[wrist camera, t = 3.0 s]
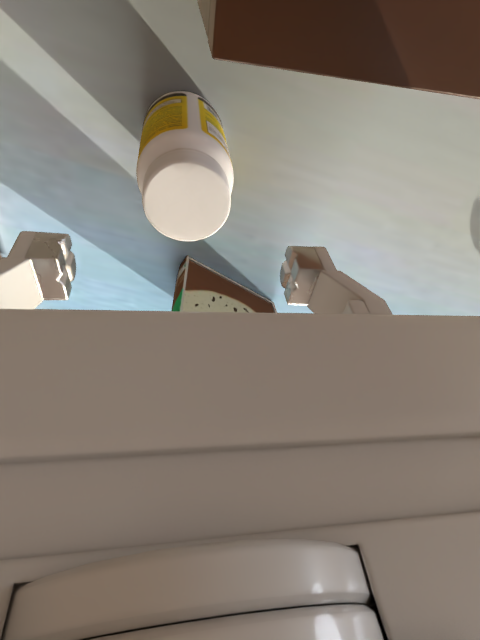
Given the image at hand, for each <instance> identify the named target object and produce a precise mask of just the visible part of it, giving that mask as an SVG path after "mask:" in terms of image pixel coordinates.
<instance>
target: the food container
mask: <svg viewBox="0 0 480 640" xmlns="http://www.w3.org/2000/svg"><path fill="white" fill-rule="evenodd" d="M172 311H181V312H245V313H277V311H276V309H275V306H274V303H273V302H272V301H270V300H269V299H267V298H265V297H263V296H261V295H259V294H257V293H256V292H254V291H252V290H250V289H248V288H246V287H244V286H243V285H241V284H239V283H237V282H235V281H233V280H232V279H230V278H228V277H226V276H224V275H222V274H220V273H219V272H217V271H215V270H213V269H211V268H209V267H208V266H206V265H204V264H202V263H200V262H198V261H196V260H195V259H193V258H191V257H189V256H186V258H185V259H184V261H183V262H182V264H181V265H180V268H179V272H178V276H177V280H176V286H175V292H174V299H173V305H172Z"/></svg>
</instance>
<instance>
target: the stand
mask: <svg viewBox="0 0 480 640" xmlns="http://www.w3.org/2000/svg"><path fill="white" fill-rule="evenodd" d="M197 2H198V5H199V9H200V13H201V16H202V20H203V23H204V27H205V30H206V34H207V38H208V44H209V47H210V51H211V55H212V58H213V59H216V60H223V61H229V62H236V63H242V64H249V65H256V66H262V67H269V68H276V69H282V70H289V71H296V72H302V73H309V74H316V75H322V76H329V77H335V78H342V79H349V80H355V81H362V82H369V83H375V84H382V85H389V86H395V87H402V88H409V89H415V90H422V91H428V92H435V93H442V94H448V95H455V96H462V97H468V98H475V99H480V0H197Z"/></svg>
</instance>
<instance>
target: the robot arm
mask: <svg viewBox="0 0 480 640" xmlns="http://www.w3.org/2000/svg"><path fill="white" fill-rule="evenodd" d="M71 246H72V242H71V238H70V236H69V235H68V234H60V233H47V232H32V231H22V232H20V234H19V236H18V237H17V239H16V241H15V243H14V245H13V247H12V249H11V251H10V253H9V255H8V257H7V258H5V257H2V258H0V640H480V316H434V315H393V314H392V312H391V311H390V309H389V307H388V305H387V304H386V302H385V300H383V299H382V298H380V297H379V296H377V295H376V294H374V293H373V292H371V291H370V290H368V289H367V288H365V287H364V286H362V285H361V284H359V283H358V282H356V281H355V280H353V279H352V278H350V277H349V276H347V275H346V274H344V273H343V272H341V271H337V270H336V268H335V266H334V264H333V262H332V260H331V258H330V256H329V254H328V252H327V250H326V248H325V247H303V246H288V247H287V249H286V252H285V257H286V261H285V262H284V263H282V266H281V271H280V281H281V285H282V287H284V288H285V292H284V295H285V298H286V301H287V304H288V305H307V307H308V308H309V309H310V310H311V311H312V312H314V313H315V314H310V313H245V312H181V311H117V310H54V309H34V308H36V307H37V306H38V305H39V304H40V303H41V302H43V300H68V298H69V295H70V292H71V288H72V287H71V283H70V282H71V281H73V280H74V278H75V274H76V262H75V256H74V254H73V253H72V252H71V251H70V249H71Z"/></svg>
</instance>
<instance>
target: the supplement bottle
mask: <svg viewBox="0 0 480 640" xmlns="http://www.w3.org/2000/svg"><path fill="white" fill-rule="evenodd" d="M136 174H137V182H138V187H139V190H140V192H141V194H142V203H143V208H144V212H145V214H146V217H147V218H148V220H149V222H150V223H151V224H152V226H153V227H154V228H155V229H157V230H158V231H159V232H160V233H162V234H163V235H165V236H167V237H169V238H172V239H175V240H179V241H197V240H201V239H204V238H206V237H209V236H211V235H212V234H214V233H215V232H217V231H218V230H219V229H220V228H221V227H222V225H223V224H224V223H225V221H226V219H227V217H228V215H229V212H230V207H231V197H230V195H231V192H232V188H233V180H234V176H233V167H232V163H231V159H230V155H229V151H228V147H227V143H226V139H225V135H224V131H223V127H222V123H221V120H220V118H219V116H218V114H217V112H216V111H215V109H214V108H213V107H212V105H211V104H210V103H209V102H208V101H206V100H205V99H204V98H202V97H201V96H199V95H197V94H194V93H191V92H185V91H175V92H170V93H167V94H164V95H163V96H161V97H159V98H158V99H157V100H156V101H155V102H154V103H153V104H152V105H151V106H150V108H149V110H148V111H147V113H146V116H145V119H144V123H143V129H142V136H141V142H140V149H139V156H138V162H137V173H136Z"/></svg>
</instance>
